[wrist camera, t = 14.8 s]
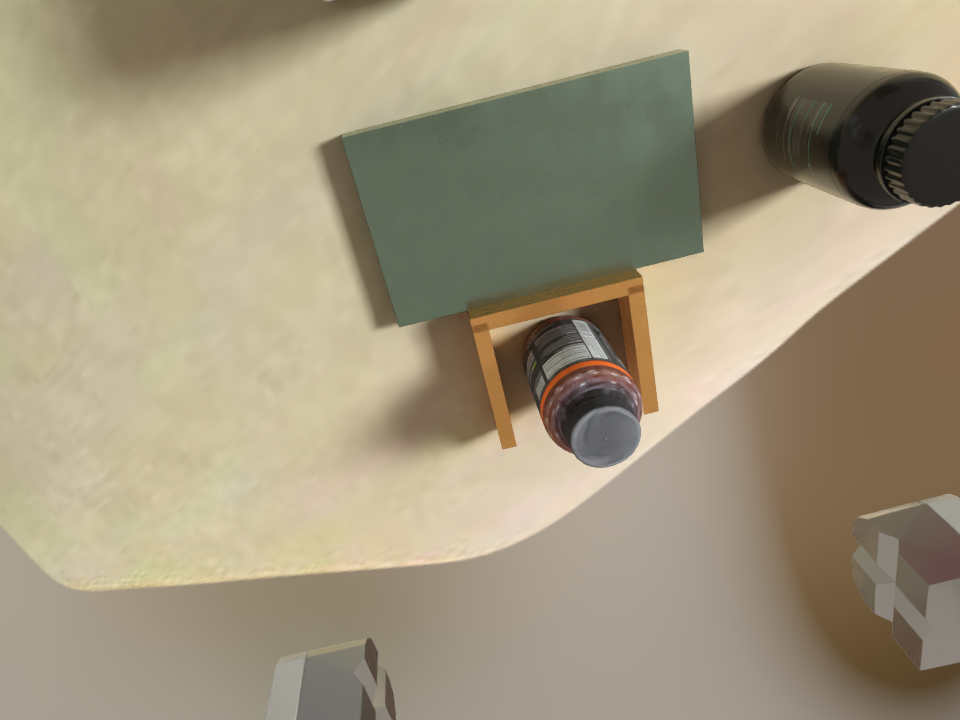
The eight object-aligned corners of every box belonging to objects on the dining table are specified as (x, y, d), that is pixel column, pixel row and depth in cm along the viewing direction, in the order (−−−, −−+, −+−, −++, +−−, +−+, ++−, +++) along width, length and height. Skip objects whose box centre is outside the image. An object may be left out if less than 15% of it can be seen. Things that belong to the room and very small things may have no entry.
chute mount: (436, 441, 50) (438, 465, 47) (343, 133, 40) (339, 142, 37) (705, 375, 50) (722, 395, 47) (678, 49, 40) (698, 51, 37)
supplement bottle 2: (885, 73, 42) (1052, 92, 31) (840, 186, 45) (978, 239, 34) (783, 51, 41) (920, 63, 30) (743, 168, 43) (855, 217, 33)
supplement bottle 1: (612, 376, 49) (666, 469, 39) (531, 398, 49) (564, 497, 39) (597, 301, 46) (651, 379, 36) (511, 325, 47) (542, 410, 36)
